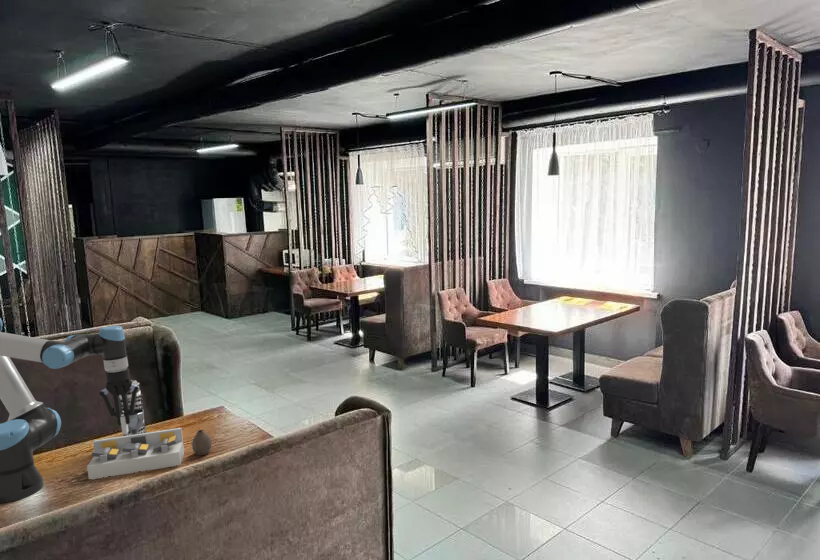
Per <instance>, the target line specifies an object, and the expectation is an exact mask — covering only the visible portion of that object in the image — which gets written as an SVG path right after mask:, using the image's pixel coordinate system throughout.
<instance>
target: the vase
mask: <svg viewBox="0 0 820 560" xmlns="http://www.w3.org/2000/svg"><path fill="white" fill-rule="evenodd" d="M212 443H213V442H212V439H211V437H210V436H209V434H208V433H206V432H205V430H204V429H199V430H197V431H196V434H195V435H194V436H193V439H192V441H191V446H192V447H191V448H192V451H193V452H194V453H195V454H196V455H197V456H203V455H208V453H209V452H210V451H211V449H212Z"/></svg>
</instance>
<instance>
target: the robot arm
mask: <svg viewBox="0 0 820 560" xmlns="http://www.w3.org/2000/svg"><path fill="white" fill-rule="evenodd" d="M3 326H4V325H3V320H2V318H1V317H0V401H1V403H2V404H3V405H4V407H5V409H6V411H7V412H8V414H9V416H8V419H7V421H5V422H3V423H0V504H2V503H3V504H4V503H10V502H14V501H18V500H21V499H24V498H27V497H30V496H31V495H33V494H35V493H37V492H39V491H40V490H41V489H42V488H43V487H44V479H43V476H42V475H41V473H40V471H39V470H38V468H37V467H36V465H35V461H34V455H33V454H34V453H33V452H34V451H36V450H37V449H39V448H41V447H42V446H43V445H45V444H47V443H49V442H50V441H52V440H53V438H55V437H56V436H58V434H59V432H60V430H61V427H62V420H61V416H60V414H59V413H58V411H56V410H54V409H52V408H51V407H46V405H45V404H44V402H43V401H37V400H36V399H35V397H34V396H33V394H32V392H31V390H30V389H29V387H28V386H27V384H26V382H25V381H24V379H23V377H22V376H21V374H20V372H19V371H18V369H17V367H16V365H15V364H14V362H13V361H12V359H17V360H24V361H31V362H37V363H43V364H44V365H45V366H46V367H47V368H49V369H51V370H52V369H53V370H57V369H61V368H65V367H67V366H69V365H71V364H74V363H75V362H76V361H79V360H81V359H83V358H85V357H87V356H89V357H90V356H94V355H95V356H97V355H98V356H99V355H102V359H103V360H102V361H103V367H104V371H105V374H104V375H105V381H106V385H105V388H104V389H103V388H102V389H101V390H100V391H99V395H100V396H101V397H102V398H103V400H104V403H105V406H106V408H107V410H108V412H109V415H110V416H111V417H116V420H117V421H116V422H117V425H118V426H121V433H122V434H121V435H122V436H123V434H127V433H128V431H129V430H128V424H129V423H130V414H131V413H133V412H134V410H135V403H136V396H137V391H138V389H140V384H139V385H134V384H132V381H131V380H132V379H131V375H130V374H131V373H130V369H129V368H128V367H129V360H128V354H127V347H126V336H125V333H124V328H123V326H121V325H111V326H105V327H101V328H99V332H98V333H85V334H78V333H77V334H74V335H72V334H71V335H69V336H67V337H66V339H65V340H64V341H55V340H50V339H44V338H39V337H32V336H28V335H27V336H26V335H20V334H14V333H10V332H2V330H3ZM11 358H12V359H11ZM130 387H131V388H132V389H131V390H132V391H133V392H132V397H131V405H130V410H129V405H128V398H127V392H128V391H129V389H130ZM109 393H110V394H111V395H112V397H113V400H114V403H112V402H113V401H112V400H111V397H110V394H109ZM120 395H121V397H122V401H123V409H124V414H123V415H121V414H122V412H121V405H120V397H119V396H120ZM113 404H114V405H113Z"/></svg>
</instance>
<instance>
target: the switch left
mask: <svg viewBox="0 0 820 560" xmlns="http://www.w3.org/2000/svg"><path fill="white" fill-rule="evenodd" d="M119 452H120V450H119V449H110V448H109V447H107V448H99V447H96V448H95V449H94V448H93V451H92V452H91V457H94V456H96V457H100V455H105V454H107V458H115V459H116V458H117V456H118V454H119Z"/></svg>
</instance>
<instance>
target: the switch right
mask: <svg viewBox="0 0 820 560" xmlns="http://www.w3.org/2000/svg"><path fill="white" fill-rule="evenodd" d="M177 440H178V437H177V435H175V436H173V437H170V438H169V439H167V438H166V439H165V440H164V441H161V442H159V443H156V444H155V446H154V448H153V451H154V452H156V451H159V450H161V446H163V445H167V447H168V446H171V445H173V444H176V443H177Z"/></svg>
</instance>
